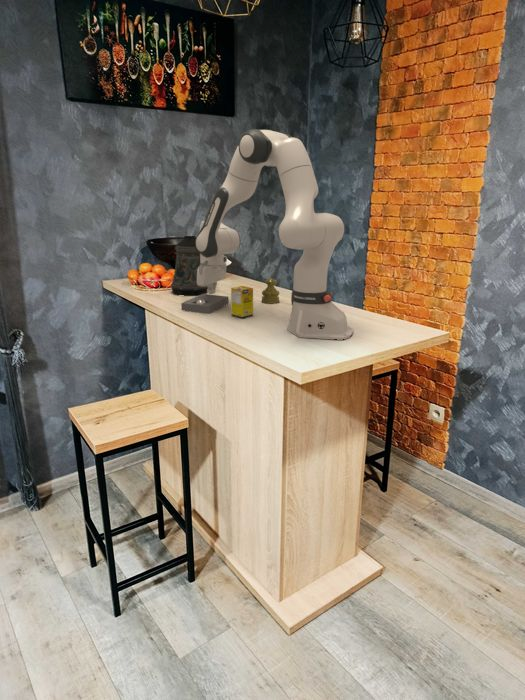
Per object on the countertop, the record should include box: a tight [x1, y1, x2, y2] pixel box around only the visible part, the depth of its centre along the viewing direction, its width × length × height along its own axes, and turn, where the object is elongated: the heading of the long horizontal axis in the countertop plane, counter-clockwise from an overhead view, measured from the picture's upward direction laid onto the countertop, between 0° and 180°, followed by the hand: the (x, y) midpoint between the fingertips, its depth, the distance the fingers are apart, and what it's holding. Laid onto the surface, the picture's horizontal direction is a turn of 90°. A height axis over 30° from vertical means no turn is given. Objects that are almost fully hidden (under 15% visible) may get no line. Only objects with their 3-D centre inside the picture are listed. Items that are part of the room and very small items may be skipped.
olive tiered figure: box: [261, 277, 280, 305], centre depth 207 cm, size 7×7×10 cm
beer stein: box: [170, 235, 208, 297], centre depth 221 cm, size 16×19×25 cm
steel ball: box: [196, 299, 206, 304], centre depth 195 cm, size 4×4×4 cm
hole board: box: [180, 293, 229, 314], centre depth 198 cm, size 12×18×3 cm, turn 159°
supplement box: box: [230, 285, 254, 320], centre depth 184 cm, size 6×6×11 cm
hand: (212, 293), depth 202 cm, fingers closed
